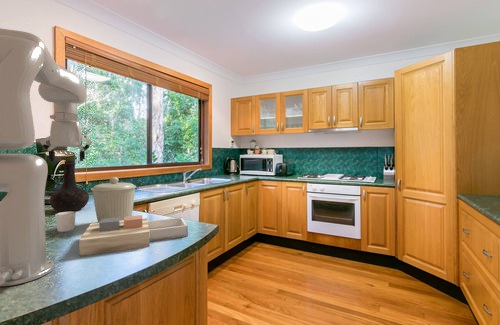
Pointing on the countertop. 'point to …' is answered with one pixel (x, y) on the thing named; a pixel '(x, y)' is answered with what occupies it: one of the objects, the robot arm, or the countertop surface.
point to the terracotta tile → (133, 221)
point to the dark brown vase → (69, 192)
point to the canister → (113, 199)
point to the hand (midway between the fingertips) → (67, 161)
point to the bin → (167, 229)
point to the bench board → (113, 239)
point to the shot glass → (65, 221)
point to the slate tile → (109, 224)
